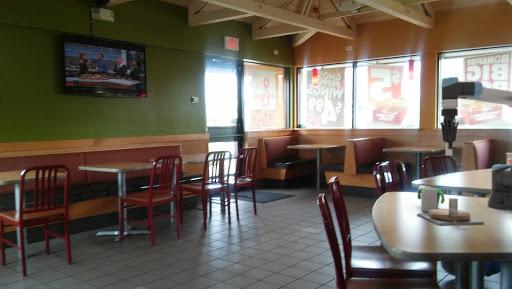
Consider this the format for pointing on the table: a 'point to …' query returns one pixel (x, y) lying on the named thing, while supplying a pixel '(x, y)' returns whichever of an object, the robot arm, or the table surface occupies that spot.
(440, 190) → the snack cup
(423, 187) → the dagger
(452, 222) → the dial base
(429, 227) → the table surface
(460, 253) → the table surface
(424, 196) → the can
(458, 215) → the dial
